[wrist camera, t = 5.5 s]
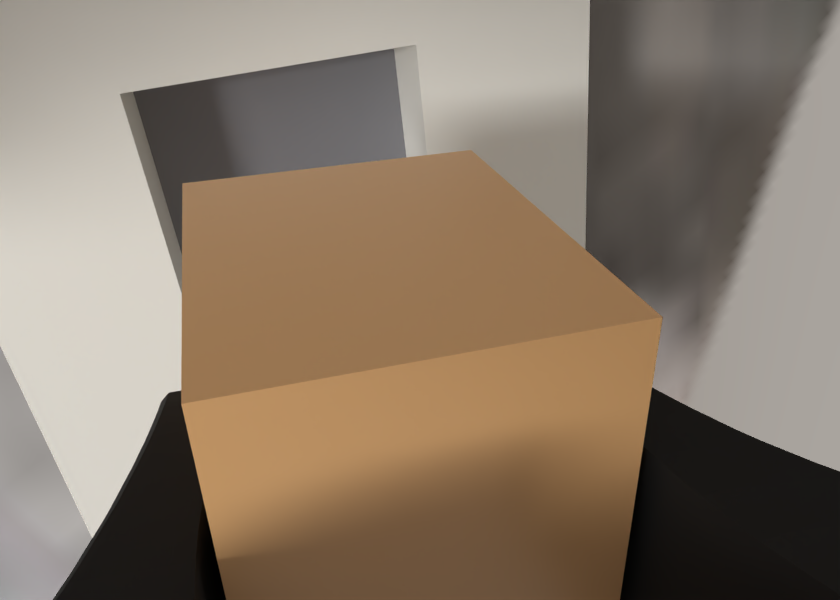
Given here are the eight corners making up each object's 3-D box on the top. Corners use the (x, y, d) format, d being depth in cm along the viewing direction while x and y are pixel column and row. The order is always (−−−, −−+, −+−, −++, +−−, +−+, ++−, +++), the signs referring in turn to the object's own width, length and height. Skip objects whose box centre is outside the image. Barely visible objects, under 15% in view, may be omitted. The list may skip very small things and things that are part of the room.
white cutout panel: (116, 507, 21) (107, 590, 18) (-180, -167, 12) (-267, -179, 10) (547, 392, 23) (590, 452, 21) (538, -236, 15) (608, -259, 12)
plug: (239, 464, 13) (273, 806, 8) (182, 164, 10) (180, 404, 5) (455, 421, 14) (603, 706, 9) (453, 134, 11) (662, 317, 6)
